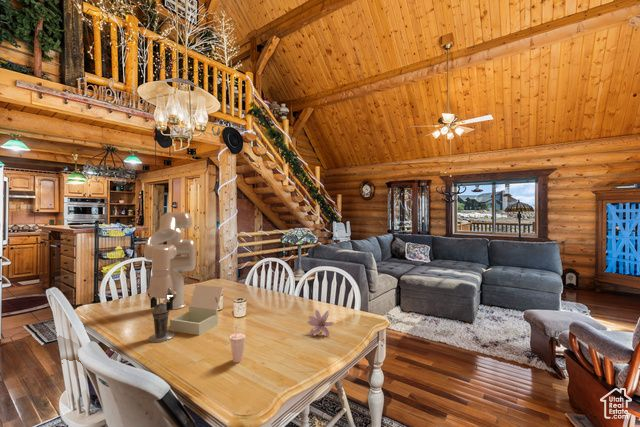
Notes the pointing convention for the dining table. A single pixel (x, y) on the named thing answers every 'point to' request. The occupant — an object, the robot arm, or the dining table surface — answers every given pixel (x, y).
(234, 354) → the smoothie
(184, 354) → the dining table surface
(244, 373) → the dining table surface
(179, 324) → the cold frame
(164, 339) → the coaster
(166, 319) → the beverage cup
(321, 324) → the water lily
